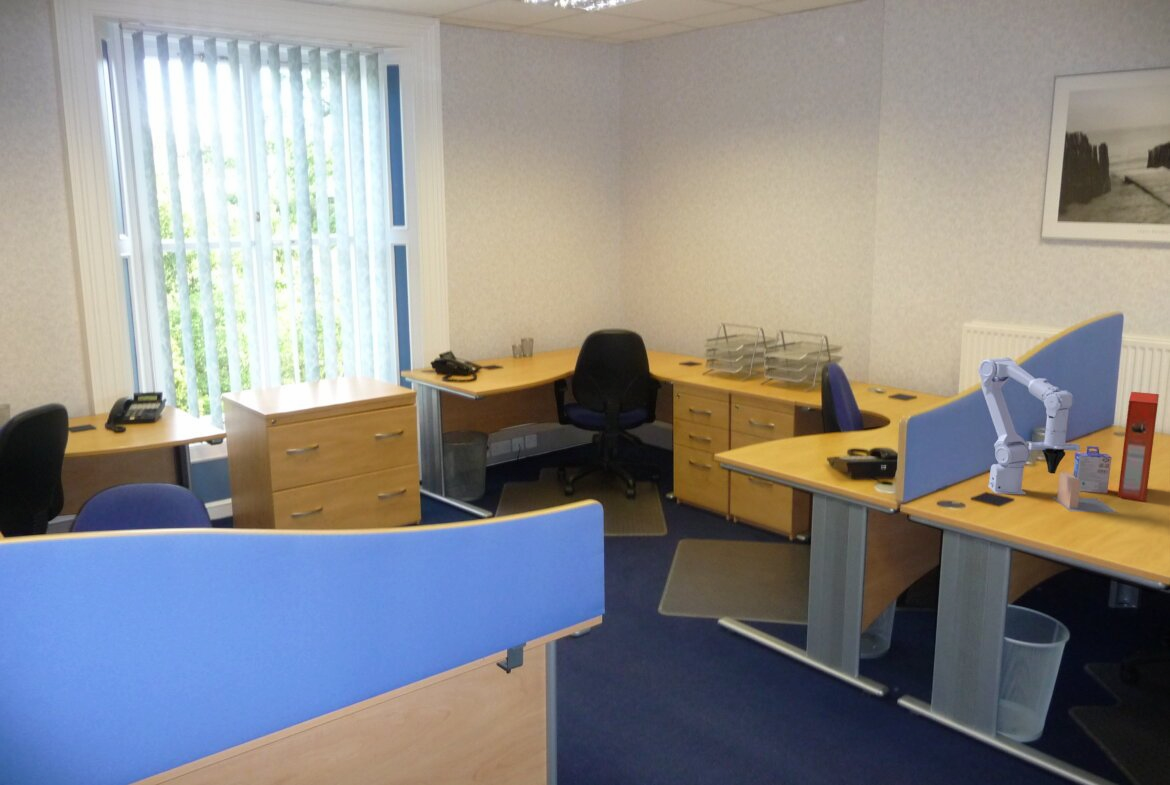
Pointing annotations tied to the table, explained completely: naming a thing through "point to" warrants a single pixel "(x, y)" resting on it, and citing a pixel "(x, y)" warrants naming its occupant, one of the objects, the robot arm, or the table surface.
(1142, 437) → the file binder
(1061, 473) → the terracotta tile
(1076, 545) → the table surface
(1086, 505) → the desk mat
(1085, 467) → the ink cartridge box
